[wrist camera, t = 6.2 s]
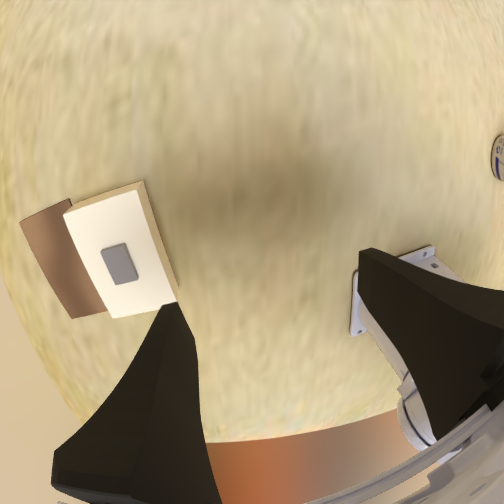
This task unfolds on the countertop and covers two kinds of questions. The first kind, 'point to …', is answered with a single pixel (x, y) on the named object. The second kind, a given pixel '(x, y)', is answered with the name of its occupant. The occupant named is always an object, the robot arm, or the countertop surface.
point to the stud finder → (123, 250)
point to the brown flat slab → (62, 261)
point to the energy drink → (498, 158)
